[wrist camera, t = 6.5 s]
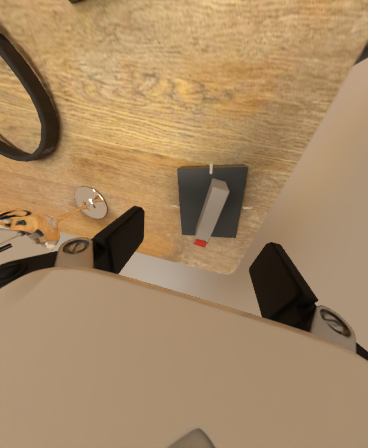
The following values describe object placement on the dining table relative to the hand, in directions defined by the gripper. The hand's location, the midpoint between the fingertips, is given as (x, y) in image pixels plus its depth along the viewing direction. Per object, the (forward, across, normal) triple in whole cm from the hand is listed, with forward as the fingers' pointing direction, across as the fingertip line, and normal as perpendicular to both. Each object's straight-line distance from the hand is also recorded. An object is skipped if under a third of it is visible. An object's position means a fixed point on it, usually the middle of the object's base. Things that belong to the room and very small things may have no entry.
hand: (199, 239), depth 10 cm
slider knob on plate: (+12, -1, +2) cm, 13 cm away
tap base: (+16, -1, +2) cm, 16 cm away
